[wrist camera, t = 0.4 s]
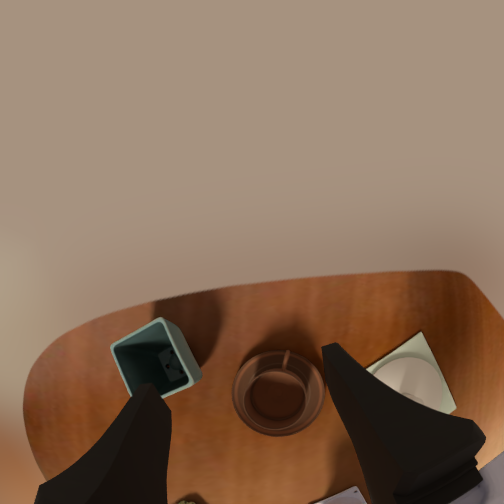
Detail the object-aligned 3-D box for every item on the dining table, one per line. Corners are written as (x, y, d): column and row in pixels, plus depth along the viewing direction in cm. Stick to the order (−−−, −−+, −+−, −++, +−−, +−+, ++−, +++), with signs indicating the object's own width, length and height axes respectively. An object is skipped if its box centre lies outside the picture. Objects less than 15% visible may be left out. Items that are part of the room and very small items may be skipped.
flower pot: (189, 321, 41) (161, 314, 32) (217, 376, 38) (195, 384, 29) (142, 346, 41) (108, 345, 32) (167, 399, 38) (136, 409, 29)
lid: (450, 407, 30) (467, 413, 25) (379, 456, 30) (389, 470, 25) (419, 339, 34) (434, 338, 29) (343, 389, 34) (350, 396, 29)
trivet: (455, 407, 30) (456, 407, 30) (376, 462, 30) (376, 463, 30) (420, 331, 35) (421, 331, 34) (335, 386, 35) (335, 387, 34)
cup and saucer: (230, 354, 39) (218, 356, 33) (318, 343, 37) (321, 344, 31) (240, 435, 35) (229, 449, 29) (327, 426, 33) (331, 440, 28)
